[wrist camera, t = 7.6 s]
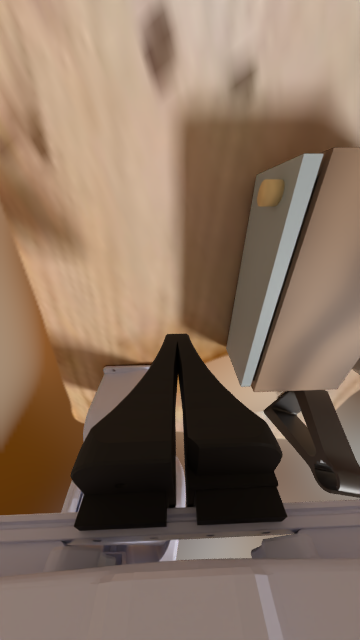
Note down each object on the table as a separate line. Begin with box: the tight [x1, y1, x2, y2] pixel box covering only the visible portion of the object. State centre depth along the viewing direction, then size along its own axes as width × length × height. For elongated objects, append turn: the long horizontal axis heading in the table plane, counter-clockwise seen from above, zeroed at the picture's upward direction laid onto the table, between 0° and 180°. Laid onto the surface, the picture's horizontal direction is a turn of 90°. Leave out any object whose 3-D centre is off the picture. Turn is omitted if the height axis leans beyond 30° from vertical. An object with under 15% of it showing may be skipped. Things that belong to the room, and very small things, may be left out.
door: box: [226, 154, 323, 387], centre depth 16 cm, size 2×18×6 cm, turn 0°
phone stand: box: [264, 390, 360, 498], centre depth 26 cm, size 9×6×12 cm, turn 154°
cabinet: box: [251, 147, 360, 392], centre depth 17 cm, size 9×19×6 cm, turn 1°
